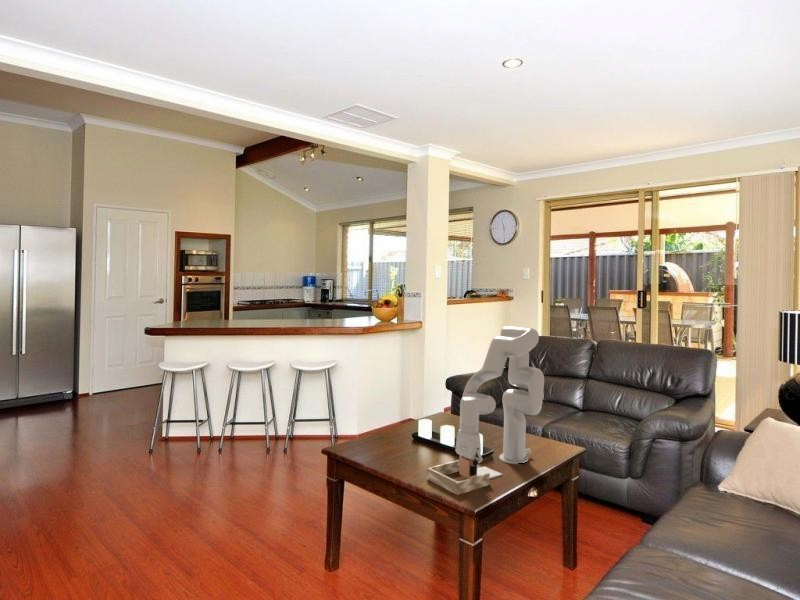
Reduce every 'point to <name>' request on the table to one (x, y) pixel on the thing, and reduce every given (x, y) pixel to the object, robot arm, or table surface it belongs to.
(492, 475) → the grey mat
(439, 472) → the birch box
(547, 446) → the table surface
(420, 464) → the table surface
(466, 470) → the terracotta cube
